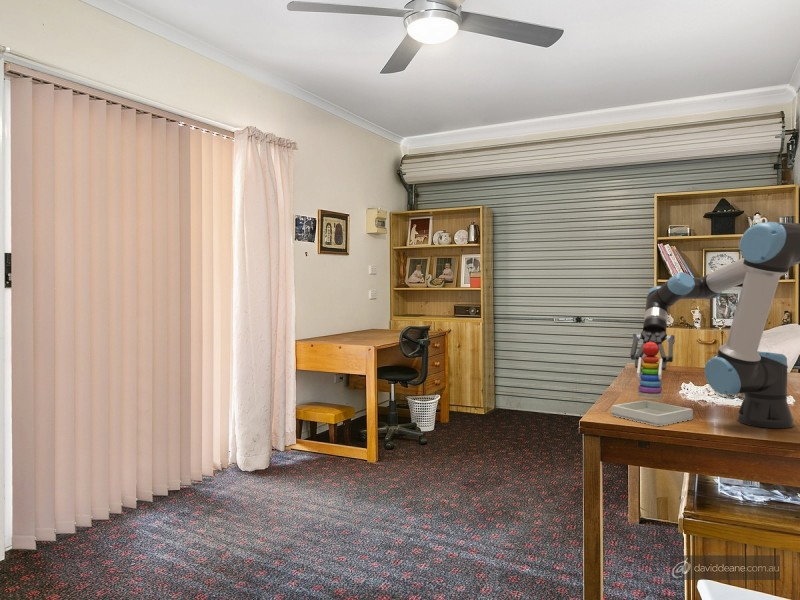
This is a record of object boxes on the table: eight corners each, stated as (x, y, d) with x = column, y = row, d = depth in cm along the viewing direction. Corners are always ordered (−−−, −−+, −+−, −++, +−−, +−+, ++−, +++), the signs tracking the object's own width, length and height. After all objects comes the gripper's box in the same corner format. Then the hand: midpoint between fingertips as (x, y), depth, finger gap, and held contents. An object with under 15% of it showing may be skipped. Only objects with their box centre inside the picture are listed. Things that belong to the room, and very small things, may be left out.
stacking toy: (665, 400, 193) (665, 343, 192) (639, 399, 194) (640, 343, 194) (660, 395, 200) (660, 341, 200) (635, 394, 202) (635, 340, 201)
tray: (692, 419, 194) (692, 409, 193) (658, 426, 184) (658, 415, 184) (645, 409, 209) (645, 399, 209) (611, 415, 200) (611, 405, 200)
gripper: (685, 331, 205) (681, 385, 191) (628, 329, 214) (620, 380, 201) (684, 317, 200) (679, 371, 187) (625, 315, 210) (617, 367, 196)
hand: (649, 375), depth 194 cm, fingers closed on stacking toy, 6 cm apart
